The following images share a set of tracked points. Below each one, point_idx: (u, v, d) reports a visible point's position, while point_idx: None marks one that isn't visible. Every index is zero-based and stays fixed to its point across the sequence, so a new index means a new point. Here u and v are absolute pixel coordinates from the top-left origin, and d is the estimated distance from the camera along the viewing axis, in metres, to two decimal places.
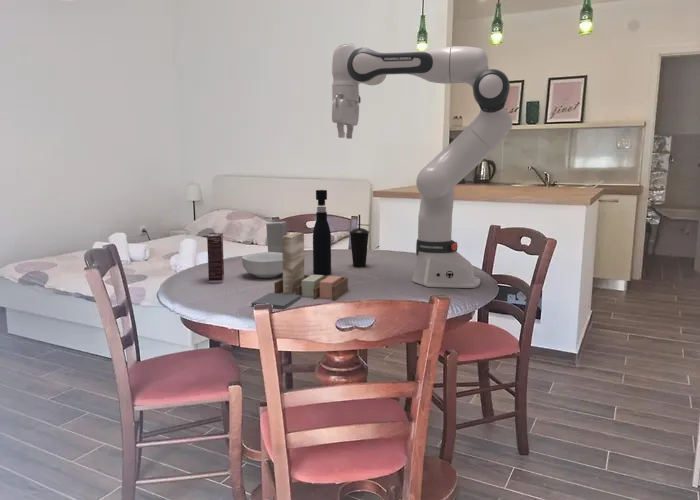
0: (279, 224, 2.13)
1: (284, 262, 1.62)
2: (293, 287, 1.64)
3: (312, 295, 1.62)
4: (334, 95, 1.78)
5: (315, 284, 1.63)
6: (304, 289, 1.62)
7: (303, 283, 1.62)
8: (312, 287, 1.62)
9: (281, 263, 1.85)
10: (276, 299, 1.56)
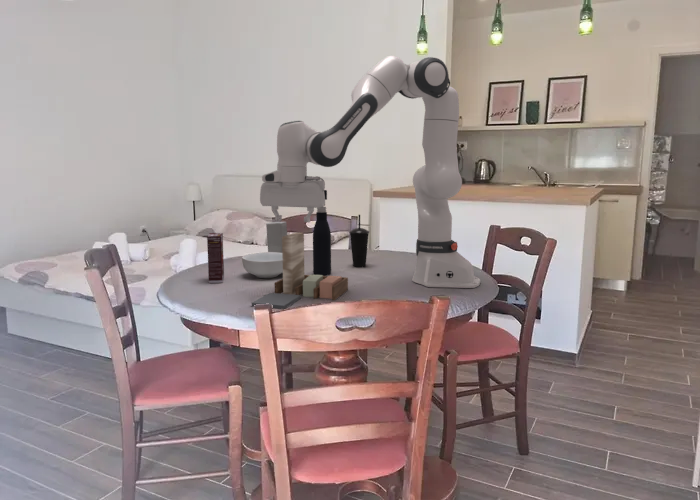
0: (279, 224, 2.13)
1: (284, 262, 1.62)
2: (293, 287, 1.64)
3: None
4: (298, 176, 1.59)
5: (316, 284, 1.63)
6: (305, 289, 1.62)
7: (304, 283, 1.62)
8: (314, 287, 1.62)
9: (281, 263, 1.85)
10: (276, 299, 1.56)
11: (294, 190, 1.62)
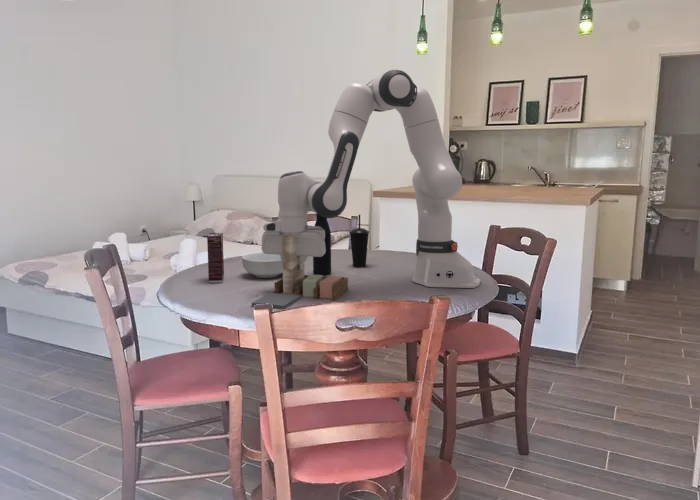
0: None
1: (284, 262, 1.62)
2: (293, 286, 1.64)
3: None
4: (299, 226, 1.62)
5: (316, 284, 1.63)
6: (305, 289, 1.62)
7: (304, 283, 1.62)
8: (314, 287, 1.62)
9: (281, 263, 1.85)
10: (276, 299, 1.56)
11: None
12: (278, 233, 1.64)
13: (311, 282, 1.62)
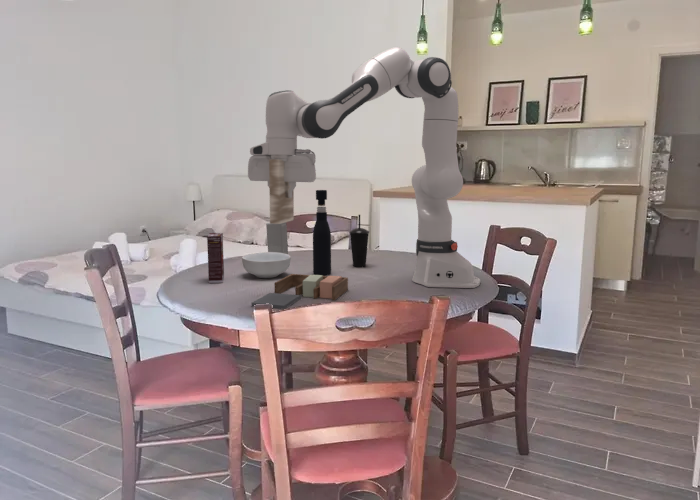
0: (279, 224, 2.13)
1: (271, 187, 1.52)
2: (280, 214, 1.53)
3: (313, 295, 1.62)
4: (288, 149, 1.51)
5: (316, 284, 1.63)
6: (305, 289, 1.62)
7: (304, 283, 1.62)
8: (314, 287, 1.62)
9: (281, 263, 1.85)
10: (276, 299, 1.56)
11: None
12: (265, 157, 1.54)
13: (311, 282, 1.61)
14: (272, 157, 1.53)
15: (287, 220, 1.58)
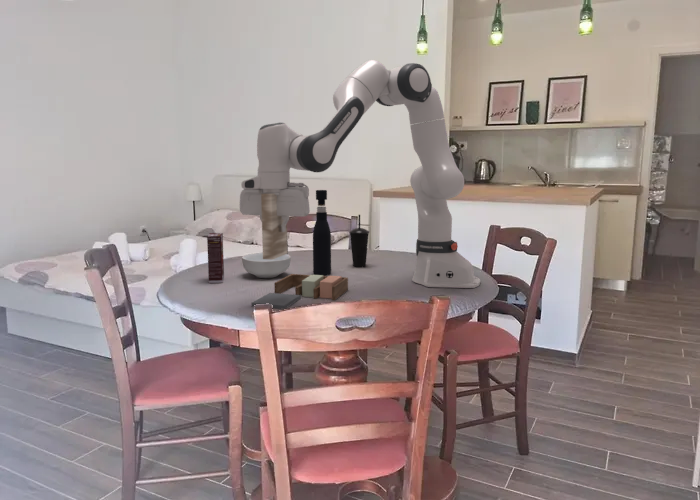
0: None
1: (264, 222, 1.48)
2: (274, 249, 1.49)
3: (313, 295, 1.62)
4: (280, 183, 1.47)
5: (315, 284, 1.62)
6: (304, 289, 1.62)
7: (303, 283, 1.62)
8: (313, 287, 1.62)
9: (281, 263, 1.85)
10: (276, 299, 1.56)
11: None
12: (257, 191, 1.49)
13: (310, 282, 1.61)
14: (264, 191, 1.49)
15: (280, 254, 1.54)
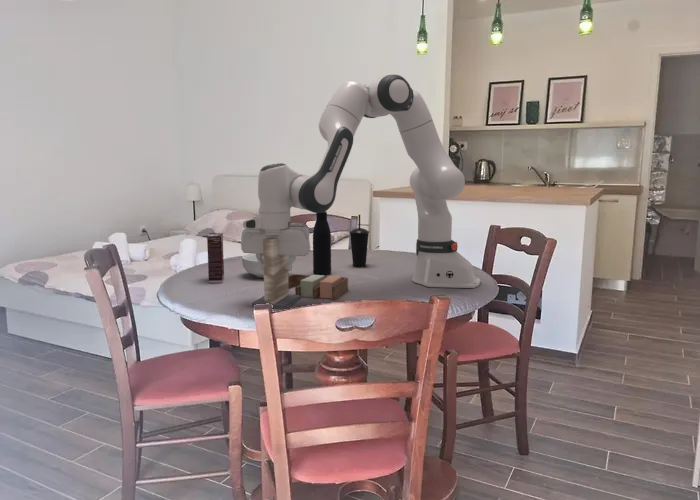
0: None
1: (265, 267, 1.50)
2: (275, 293, 1.52)
3: (311, 295, 1.62)
4: (281, 223, 1.49)
5: (314, 284, 1.62)
6: (303, 288, 1.63)
7: (302, 283, 1.62)
8: (311, 287, 1.62)
9: None
10: None
11: None
12: (258, 230, 1.51)
13: (308, 282, 1.62)
14: (265, 231, 1.51)
15: (282, 297, 1.56)
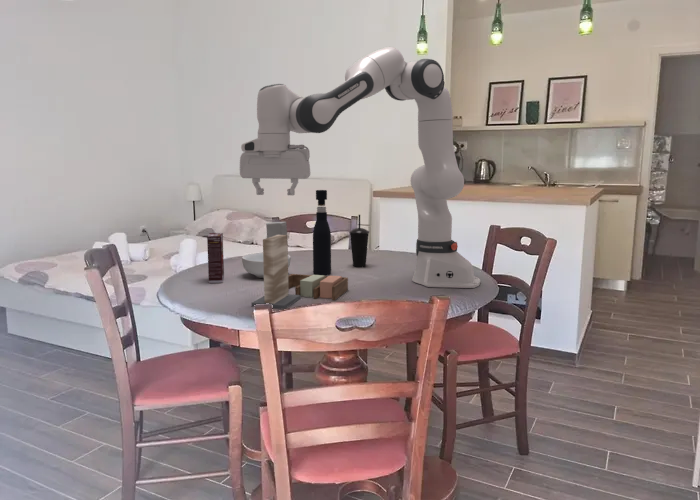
0: (279, 224, 2.13)
1: (265, 267, 1.50)
2: (275, 293, 1.52)
3: (310, 295, 1.62)
4: (281, 144, 1.46)
5: (314, 284, 1.62)
6: (302, 288, 1.63)
7: (302, 283, 1.62)
8: (310, 287, 1.61)
9: None
10: None
11: (276, 160, 1.48)
12: (257, 153, 1.48)
13: (308, 282, 1.62)
14: (264, 153, 1.47)
15: (282, 297, 1.56)
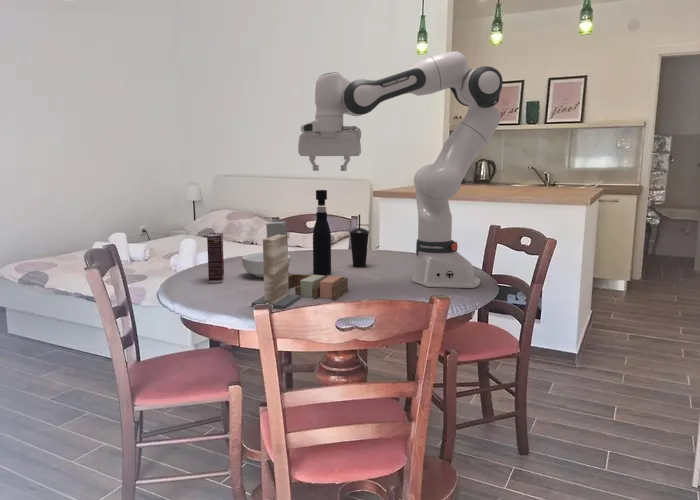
0: (279, 224, 2.13)
1: (265, 267, 1.50)
2: (275, 293, 1.52)
3: (310, 295, 1.62)
4: (336, 126, 1.66)
5: (313, 284, 1.62)
6: (302, 288, 1.63)
7: (302, 283, 1.62)
8: (310, 287, 1.61)
9: None
10: None
11: (331, 140, 1.69)
12: (315, 133, 1.69)
13: (308, 282, 1.62)
14: (321, 134, 1.68)
15: (282, 297, 1.56)
